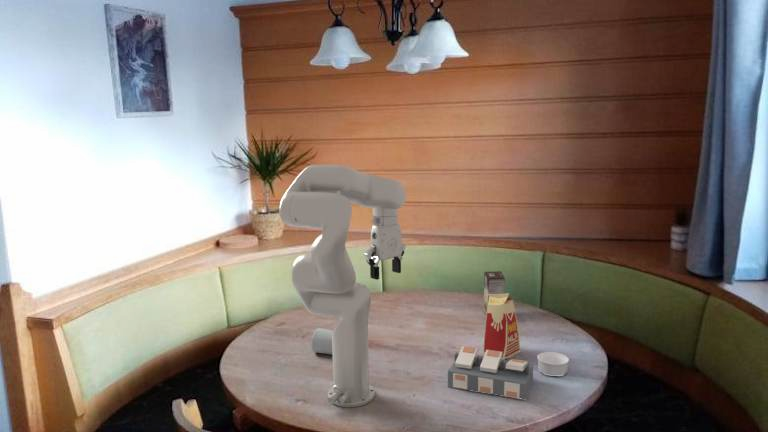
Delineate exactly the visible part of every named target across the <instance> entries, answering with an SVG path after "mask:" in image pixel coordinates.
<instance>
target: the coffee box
mask: <svg viewBox="0 0 768 432" xmlns="http://www.w3.org/2000/svg"><path fill="white" fill-rule="evenodd" d="M483 279H484V280H483V282H484V283H483V313H484V315H486V316H487V308H488V302H489V295H488V294H505V290H506V289H505V287H506V278H505V276H504V274H503V272H502V271H500V270H499V271H484V278H483ZM486 316H485V317H486Z"/></svg>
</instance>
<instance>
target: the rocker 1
mask: <svg viewBox="0 0 768 432" xmlns="http://www.w3.org/2000/svg"><path fill="white" fill-rule="evenodd" d="M478 351H479V348H477V347H473V346H466V345H465V346H464V345H462V346H461V348H460V351H459V352H458V357H457V360H456V362H455V361H454V362H455V367H461V368H467V369H471V368H472V365H473V363H474V360H475V357H476V355H477V356H478Z"/></svg>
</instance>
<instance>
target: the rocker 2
mask: <svg viewBox="0 0 768 432" xmlns="http://www.w3.org/2000/svg"><path fill="white" fill-rule="evenodd" d="M509 360H510V361H509V362H508V363H506V369H513V370H519V371H523V370H524V369H525V368H526V365H527V363H528V361H527V360H523V359H515V358H512V359H509Z"/></svg>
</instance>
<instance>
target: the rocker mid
mask: <svg viewBox="0 0 768 432" xmlns="http://www.w3.org/2000/svg"><path fill="white" fill-rule="evenodd" d="M501 358H502V352H500V351H494V350H486V352H485V354H483V360H482V363H481V365H480V371H486V372H492V373H497V370H498V367H499V364H500V361H501Z"/></svg>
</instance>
